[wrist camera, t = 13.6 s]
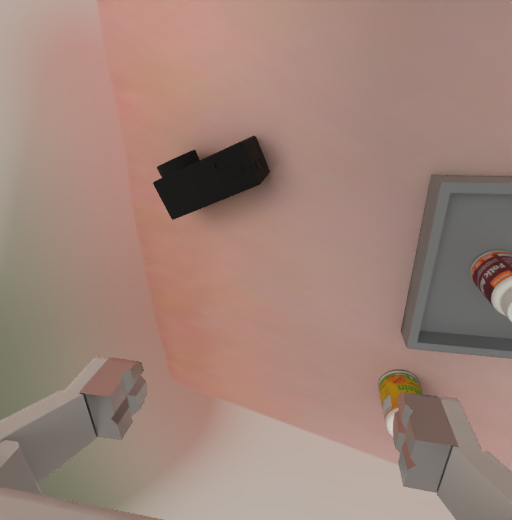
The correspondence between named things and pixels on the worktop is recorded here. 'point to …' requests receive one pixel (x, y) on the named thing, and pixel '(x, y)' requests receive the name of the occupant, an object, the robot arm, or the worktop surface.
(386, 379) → the supplement bottle
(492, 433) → the worktop surface
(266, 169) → the digital camera
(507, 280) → the pill bottle
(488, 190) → the tray
